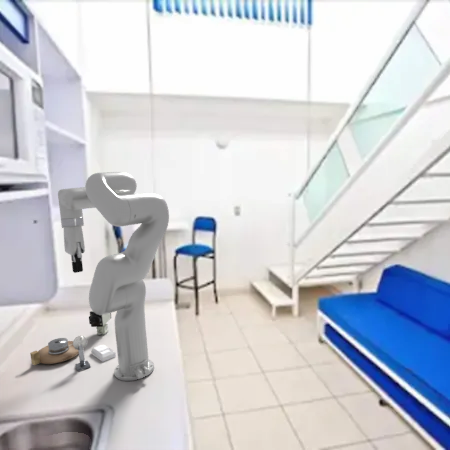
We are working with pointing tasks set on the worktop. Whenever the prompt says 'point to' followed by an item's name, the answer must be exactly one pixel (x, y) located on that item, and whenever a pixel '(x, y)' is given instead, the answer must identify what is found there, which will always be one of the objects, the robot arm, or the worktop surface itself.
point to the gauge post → (81, 352)
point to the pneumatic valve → (99, 322)
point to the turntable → (46, 358)
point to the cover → (58, 346)
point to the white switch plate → (103, 352)
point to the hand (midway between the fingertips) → (78, 271)
